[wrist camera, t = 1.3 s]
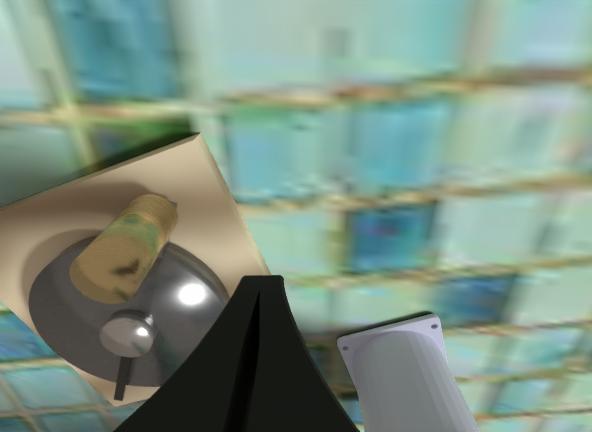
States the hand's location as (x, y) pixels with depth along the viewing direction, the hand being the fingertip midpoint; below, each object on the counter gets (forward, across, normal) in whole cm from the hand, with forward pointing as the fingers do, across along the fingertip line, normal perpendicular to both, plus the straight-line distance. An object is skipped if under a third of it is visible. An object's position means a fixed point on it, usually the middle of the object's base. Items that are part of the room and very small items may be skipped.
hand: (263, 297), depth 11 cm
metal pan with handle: (+8, +9, +7) cm, 13 cm away
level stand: (+9, +9, +8) cm, 15 cm away
